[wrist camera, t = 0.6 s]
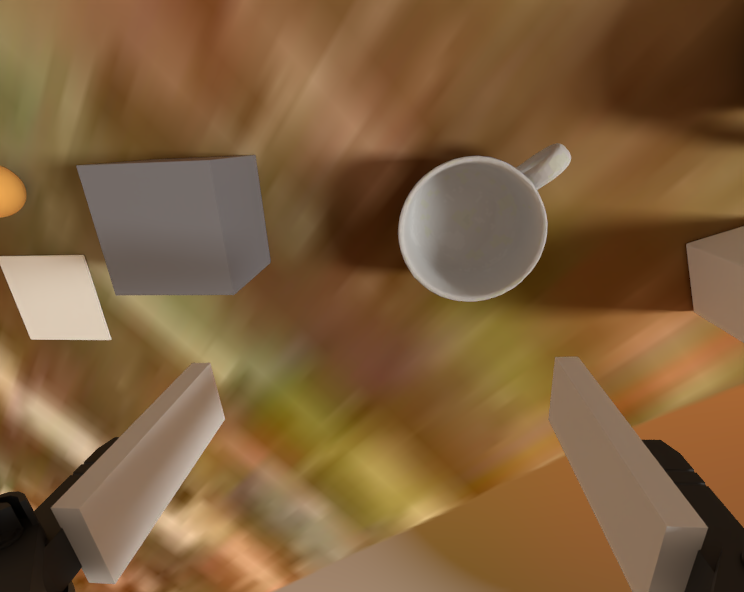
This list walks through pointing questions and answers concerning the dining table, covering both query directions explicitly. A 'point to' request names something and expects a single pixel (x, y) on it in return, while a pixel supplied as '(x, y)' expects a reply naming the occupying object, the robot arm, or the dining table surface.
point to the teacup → (478, 224)
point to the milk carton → (719, 280)
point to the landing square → (55, 297)
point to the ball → (10, 193)
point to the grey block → (178, 223)
